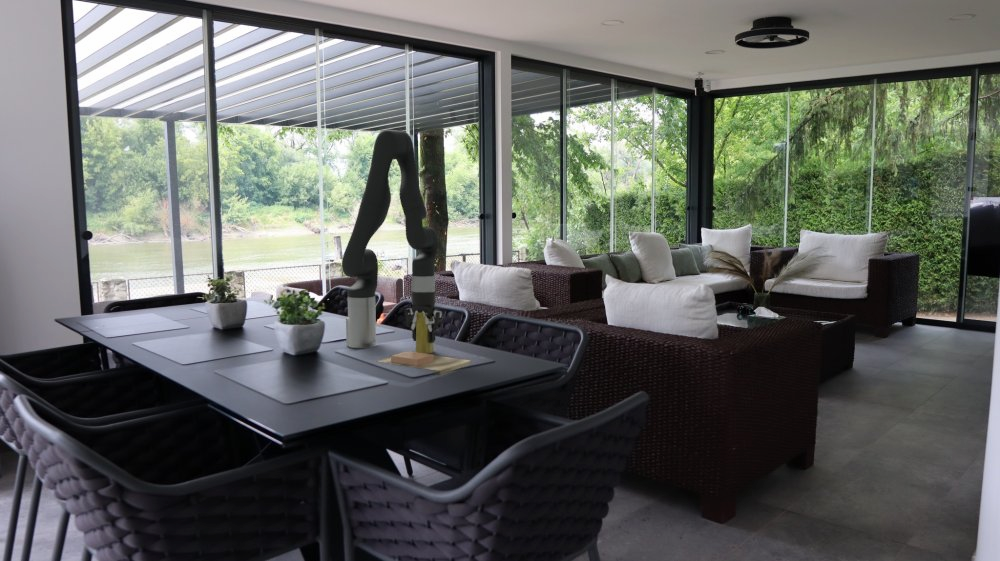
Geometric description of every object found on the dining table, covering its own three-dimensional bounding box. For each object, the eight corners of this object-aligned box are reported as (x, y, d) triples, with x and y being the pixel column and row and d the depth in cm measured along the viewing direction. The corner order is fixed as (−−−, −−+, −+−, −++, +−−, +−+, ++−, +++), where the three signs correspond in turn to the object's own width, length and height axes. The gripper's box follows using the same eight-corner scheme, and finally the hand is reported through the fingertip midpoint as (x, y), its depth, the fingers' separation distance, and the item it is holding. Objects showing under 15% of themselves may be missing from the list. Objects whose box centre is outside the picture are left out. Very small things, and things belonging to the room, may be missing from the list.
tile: (390, 355, 219) (417, 359, 214) (407, 351, 226) (433, 354, 220) (390, 362, 219) (417, 366, 214) (407, 357, 226) (433, 361, 221)
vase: (424, 358, 231) (424, 313, 229) (410, 355, 235) (410, 311, 233) (437, 354, 236) (437, 311, 234) (423, 352, 239) (423, 309, 238)
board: (375, 365, 221) (375, 361, 221) (408, 355, 235) (408, 352, 234) (440, 374, 209) (440, 370, 208) (470, 364, 222) (470, 360, 222)
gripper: (398, 289, 233) (398, 341, 235) (434, 292, 226) (435, 346, 228) (412, 287, 240) (413, 337, 241) (448, 289, 232) (448, 342, 234)
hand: (423, 341), depth 235 cm, fingers closed on vase, 5 cm apart
